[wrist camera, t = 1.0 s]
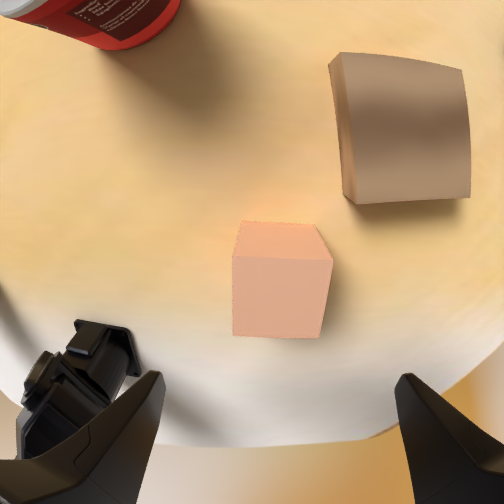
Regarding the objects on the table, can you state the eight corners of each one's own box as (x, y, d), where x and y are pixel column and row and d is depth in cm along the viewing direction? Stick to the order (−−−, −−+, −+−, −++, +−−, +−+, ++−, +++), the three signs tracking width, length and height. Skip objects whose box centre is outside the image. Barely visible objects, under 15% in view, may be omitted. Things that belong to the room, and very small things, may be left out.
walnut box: (444, 187, 18) (470, 197, 14) (341, 192, 18) (357, 204, 15) (435, 76, 14) (461, 69, 11) (326, 66, 15) (340, 52, 12)
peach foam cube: (306, 287, 21) (318, 338, 16) (240, 284, 21) (232, 335, 16) (313, 224, 19) (333, 260, 14) (241, 220, 19) (232, 256, 14)
